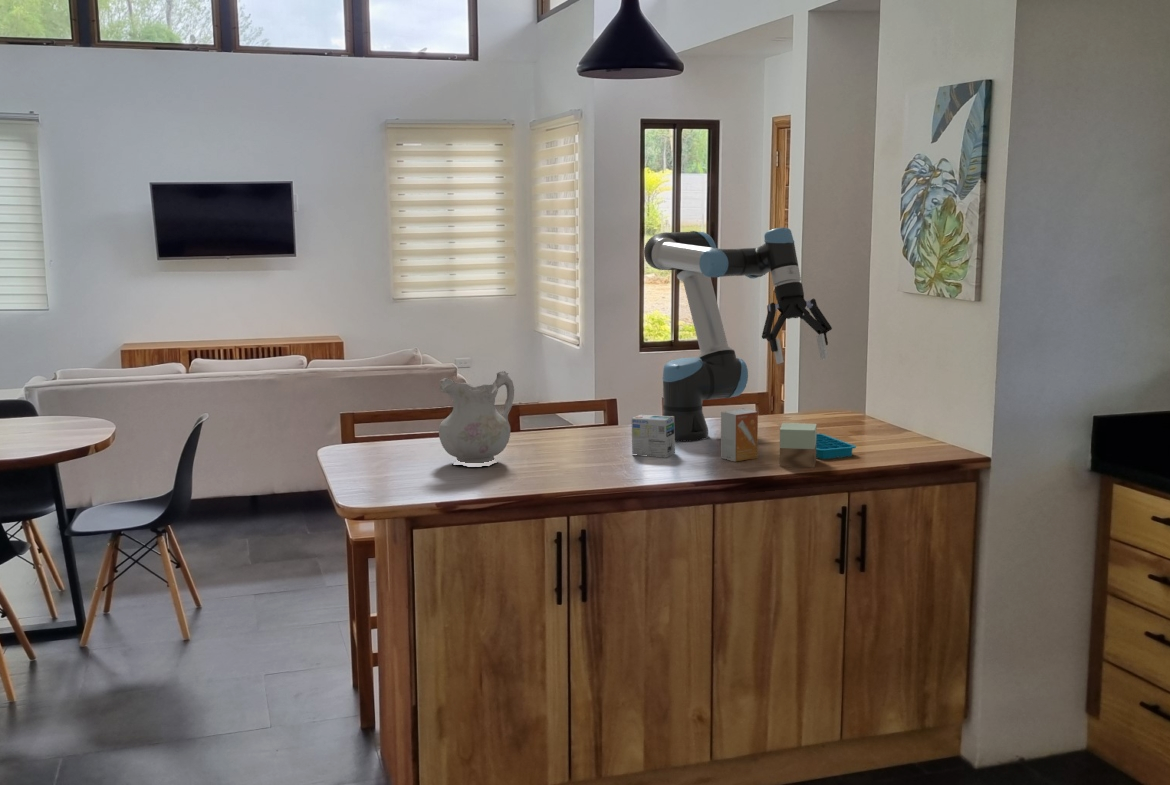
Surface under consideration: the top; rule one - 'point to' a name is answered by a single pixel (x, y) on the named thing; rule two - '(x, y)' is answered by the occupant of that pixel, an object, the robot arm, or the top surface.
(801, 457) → the walnut block
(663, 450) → the light bulb box
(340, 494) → the top surface
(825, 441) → the ice cube tray
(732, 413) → the small box
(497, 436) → the ceramic pitcher
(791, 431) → the sage block
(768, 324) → the robot arm
